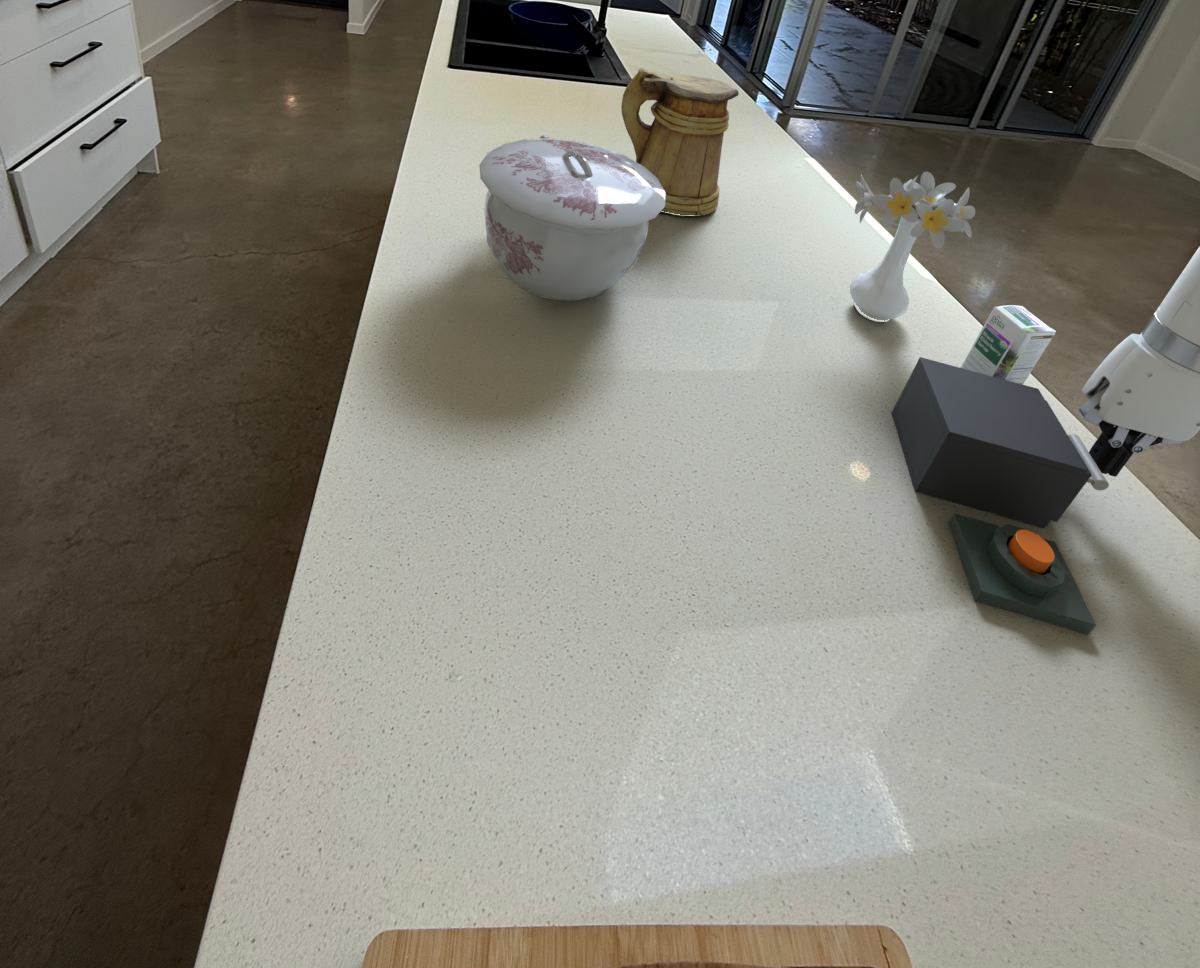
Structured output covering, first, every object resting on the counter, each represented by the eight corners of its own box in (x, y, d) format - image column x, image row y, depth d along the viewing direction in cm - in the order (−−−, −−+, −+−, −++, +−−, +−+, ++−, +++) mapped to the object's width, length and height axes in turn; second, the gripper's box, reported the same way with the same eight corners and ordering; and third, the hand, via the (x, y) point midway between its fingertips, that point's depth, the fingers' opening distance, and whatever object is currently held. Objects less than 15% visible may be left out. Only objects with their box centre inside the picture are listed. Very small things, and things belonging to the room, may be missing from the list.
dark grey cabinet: (1003, 443, 87) (1038, 388, 82) (1044, 529, 75) (1088, 470, 71) (890, 412, 88) (919, 356, 84) (914, 492, 76) (949, 431, 72)
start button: (1037, 545, 69) (1045, 535, 68) (1052, 578, 66) (1061, 567, 65) (1002, 535, 69) (1010, 524, 68) (1016, 567, 66) (1024, 556, 65)
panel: (1048, 551, 72) (1063, 531, 71) (1088, 635, 64) (1106, 614, 63) (947, 522, 73) (960, 501, 72) (974, 601, 65) (989, 579, 64)
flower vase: (804, 281, 114) (855, 152, 103) (904, 297, 116) (964, 171, 105) (828, 329, 102) (888, 189, 92) (939, 346, 104) (1010, 210, 93)
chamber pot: (611, 355, 87) (645, 223, 78) (431, 286, 93) (444, 155, 84) (661, 257, 112) (691, 148, 103) (516, 207, 118) (532, 100, 109)
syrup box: (948, 384, 96) (992, 305, 89) (977, 381, 98) (1023, 303, 92) (978, 414, 91) (1027, 332, 85) (1009, 410, 93) (1059, 330, 87)
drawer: (1051, 454, 85) (1081, 409, 82) (1095, 533, 75) (1133, 486, 71) (912, 415, 87) (937, 370, 83) (937, 488, 76) (966, 439, 73)
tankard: (724, 225, 127) (761, 105, 116) (605, 206, 125) (632, 82, 114) (708, 183, 143) (740, 75, 132) (603, 166, 141) (626, 54, 130)
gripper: (1237, 342, 73) (1149, 458, 80) (1097, 306, 74) (1024, 424, 82) (1288, 388, 66) (1186, 510, 74) (1133, 348, 67) (1049, 472, 75)
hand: (1101, 465), depth 78 cm, fingers closed
